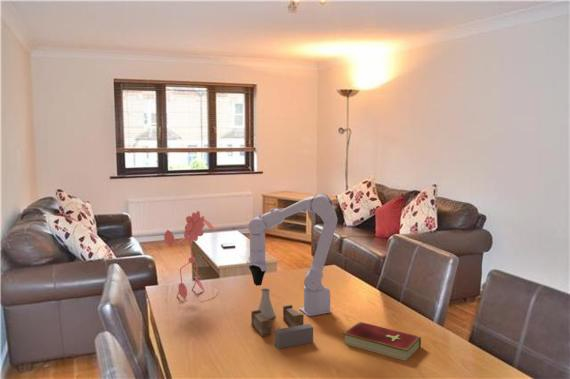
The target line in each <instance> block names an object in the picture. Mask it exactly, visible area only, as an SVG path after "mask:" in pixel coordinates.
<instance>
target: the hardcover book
mask: <svg viewBox="0 0 570 379" xmlns="http://www.w3.org/2000/svg"><path fill="white" fill-rule="evenodd" d="M342 335H344V345H348V346H352V347H354V348H358V349H362V350H366V351H370V352H373V353H377V354H379V355H384V356H387V357H391V358H393V359H397V360H402V361H405V362H406V361H407V360H408V359H410V357H411V356H412V355H413V354H414V353H416V351H418V349H419V348H421V345H422V338H421V336H420V335H419V336H418V335H416V334H411V333H406V332H403V331H399V330H394V329H391V328H387V327H383V326H379V325H374V324H370V323H366V322H363V321H358V322H357V323H355V324H354V325H353V326H352V327H350V328H349V329H347V330H345V331H344V332H342Z"/></svg>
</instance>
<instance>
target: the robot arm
mask: <svg viewBox="0 0 570 379" xmlns="http://www.w3.org/2000/svg"><path fill="white" fill-rule="evenodd" d="M303 211H306V212H312V211H313V212H314V213H315V214H317V215H318V217H320V219H321V221H322V222H323V227H322V229H321V233H320V236H319V240H318V243H317V247H316V250H315V253H314V256H313V260H312V263H311V266H310V268H309V269H308V270H307V272H306V275H305V278H304V280H303V284H304V286H303V307H299V310H300V311H302V312H303V314H305V315H306V316H308V317H312V316H318V315H323V314H324V315H325V314H330V313H332V310H331V291H330V289H329V288H328V287H327V286H324V285H323V284H322V280H323V278H324V273H323V271H324V267H325V263H326V260H327V259H328V258H327V257H328V254H329V251H330V247H331V244H332V240H333V238H334V235H335V234H334V233H335V231H336V227H337V224H338V215H337V212H336V209H335V206H334V203H333V200H332V199H331V198H330V197H329V195H328V194H325V193H324V192H323V193H322V192H321V193H318V194H316V195H312V196H308V197H306V198H303V199H301V200H299V201H297V202H295V203H293V204H291V205H289V206H286V207H285V208H283V209H279V208H274V207H272V208H271V209H269V211H268V212H266V213H263V214H261V213H260V214H259V215H258V216H256V217H254V218H253V219H251V220H250V222H249V224H248V225H247V226H248V231H249V256H248V261H246V264H247V265H249V266H248V269H249V270H250V272H251V276H252V279H253V284H254V285H255V286H256V287H257V286H262V283H263V280H264V276H265V273H266V271H268V264H267V261H266V236H265V234H266V233H265V232H266V230H269V229H272V228H274V227H276V226H278V225H281V224H282V223H284V220H285V218H287V217H290V216H292V215H293V216H294V215H295V214H297V213H300V212H303Z"/></svg>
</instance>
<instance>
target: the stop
mask: <svg viewBox="0 0 570 379" xmlns="http://www.w3.org/2000/svg"><path fill="white" fill-rule="evenodd" d="M312 343H314V327H313V325H311V324H310V323H305V324H304V325H299V326H294V327H292V326H288V327H284V328H278V329H274V346H275V347H276V348H277V349H278V350H280V349H284V348H291V347H296V346H301V345H306V344H312Z"/></svg>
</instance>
